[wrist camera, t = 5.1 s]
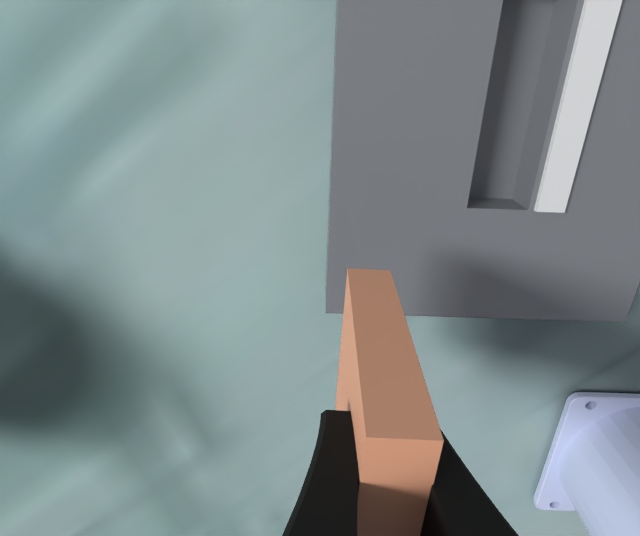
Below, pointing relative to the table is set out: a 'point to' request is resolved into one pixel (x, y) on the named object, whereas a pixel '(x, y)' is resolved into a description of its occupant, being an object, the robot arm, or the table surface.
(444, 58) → the gray slotted plate
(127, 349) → the table surface
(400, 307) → the upright peach slab
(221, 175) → the table surface
